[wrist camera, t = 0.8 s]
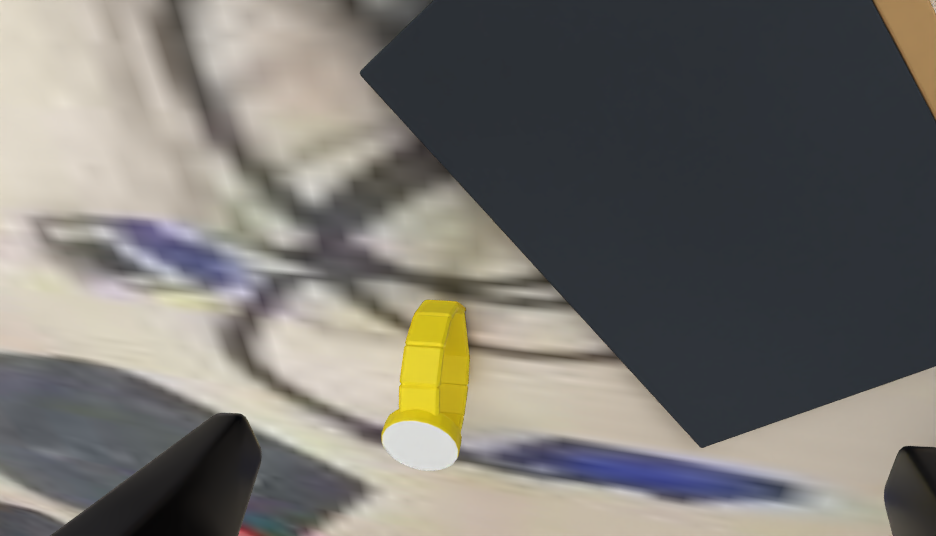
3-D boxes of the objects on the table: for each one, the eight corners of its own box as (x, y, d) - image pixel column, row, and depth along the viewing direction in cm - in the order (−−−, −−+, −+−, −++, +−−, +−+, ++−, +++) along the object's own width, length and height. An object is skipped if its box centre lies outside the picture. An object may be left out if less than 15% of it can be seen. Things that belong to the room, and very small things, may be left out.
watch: (412, 271, 24) (366, 378, 20) (481, 275, 24) (451, 386, 19) (427, 379, 28) (391, 493, 23) (487, 384, 27) (463, 502, 23)
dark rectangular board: (1060, 292, 20) (1084, 315, 19) (697, 426, 27) (700, 449, 26) (759, -314, 13) (771, -326, 12) (369, 62, 20) (357, 73, 19)
